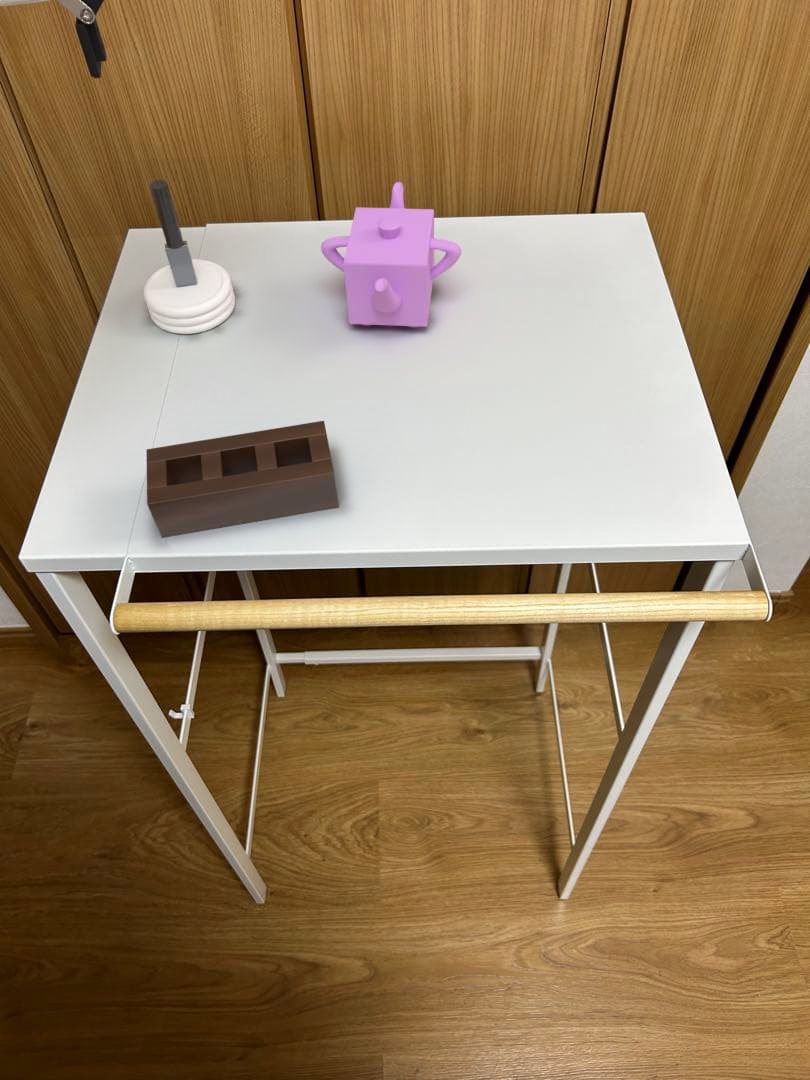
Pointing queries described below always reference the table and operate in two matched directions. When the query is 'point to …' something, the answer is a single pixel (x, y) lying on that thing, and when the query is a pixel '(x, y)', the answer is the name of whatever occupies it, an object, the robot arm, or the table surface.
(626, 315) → the table surface
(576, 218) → the table surface
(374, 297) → the teapot
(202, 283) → the white round stack
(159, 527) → the utensil block
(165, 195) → the grey handled tool
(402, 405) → the table surface
